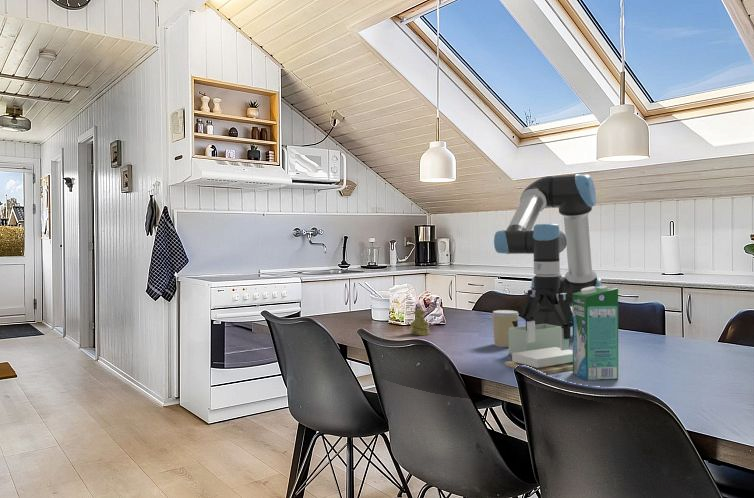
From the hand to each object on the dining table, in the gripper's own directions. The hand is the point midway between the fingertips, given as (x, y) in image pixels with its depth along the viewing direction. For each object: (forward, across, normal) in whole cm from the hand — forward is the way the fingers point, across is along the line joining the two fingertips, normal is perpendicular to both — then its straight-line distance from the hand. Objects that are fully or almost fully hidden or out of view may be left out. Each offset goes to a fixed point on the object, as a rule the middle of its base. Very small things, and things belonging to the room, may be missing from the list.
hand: (547, 345), depth 176 cm
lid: (+4, 0, 0) cm, 4 cm away
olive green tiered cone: (+7, -68, -2) cm, 68 cm away
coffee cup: (+7, -32, +12) cm, 34 cm away
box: (+6, -14, +8) cm, 17 cm away
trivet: (+6, 0, 0) cm, 6 cm away
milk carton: (+6, +16, +2) cm, 17 cm away
